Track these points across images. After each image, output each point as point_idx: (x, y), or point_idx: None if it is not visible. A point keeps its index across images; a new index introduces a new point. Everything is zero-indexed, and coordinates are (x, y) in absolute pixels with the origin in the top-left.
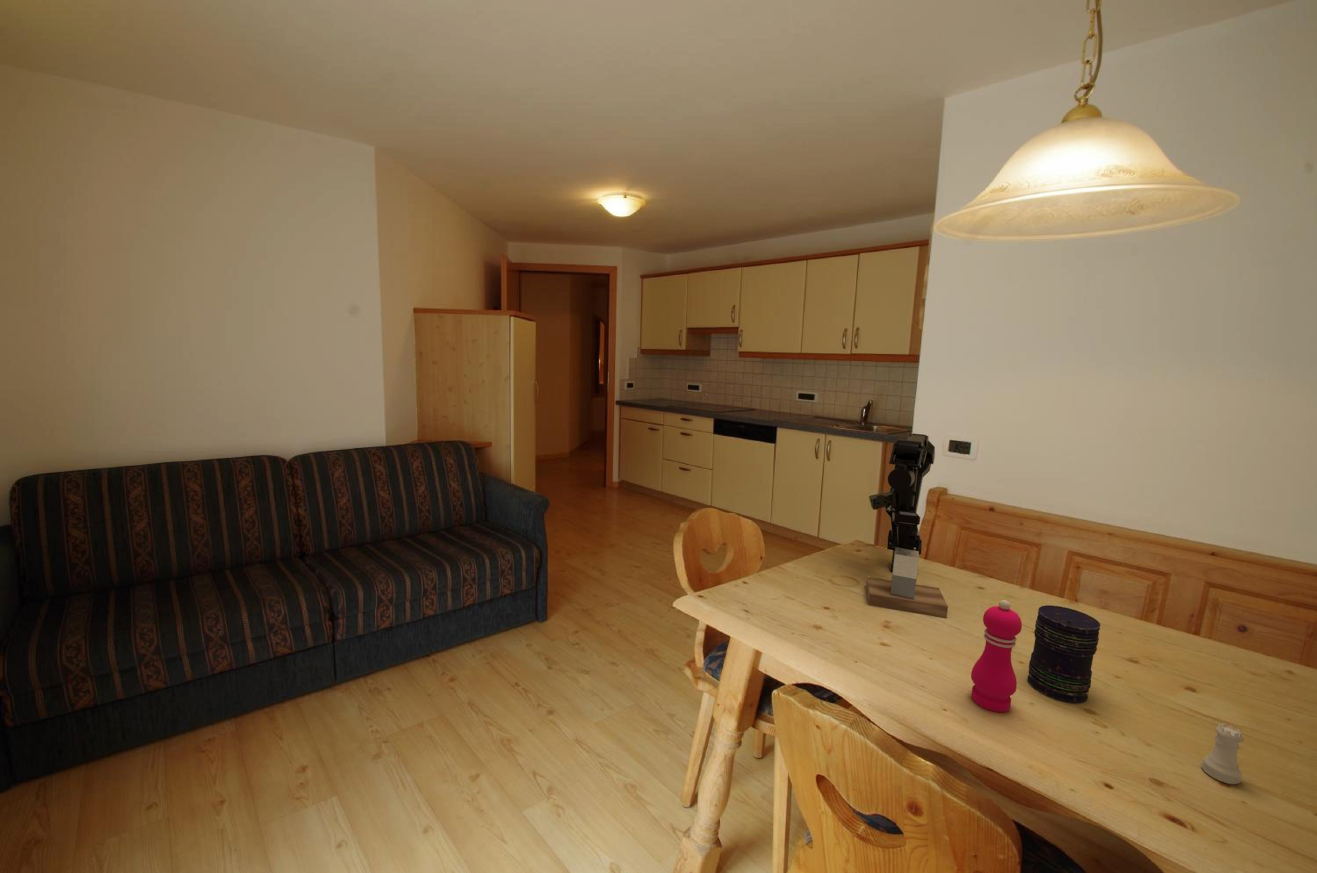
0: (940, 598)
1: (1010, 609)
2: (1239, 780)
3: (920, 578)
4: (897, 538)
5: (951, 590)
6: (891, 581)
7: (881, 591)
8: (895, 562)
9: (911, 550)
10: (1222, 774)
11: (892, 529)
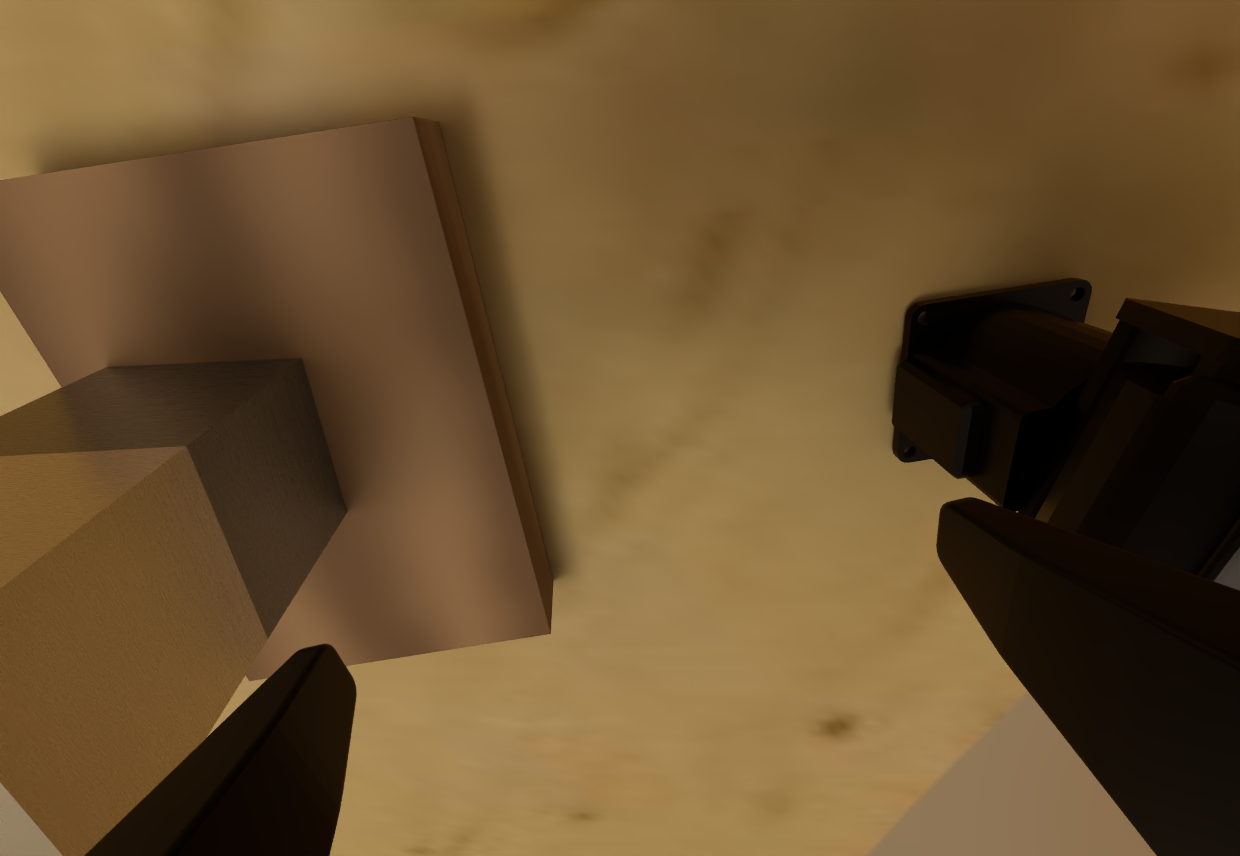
0: (358, 646)
1: None
2: None
3: (858, 491)
4: (1150, 485)
5: (729, 632)
6: (262, 379)
7: (119, 289)
8: None
9: (30, 848)
10: None
11: (1064, 580)
